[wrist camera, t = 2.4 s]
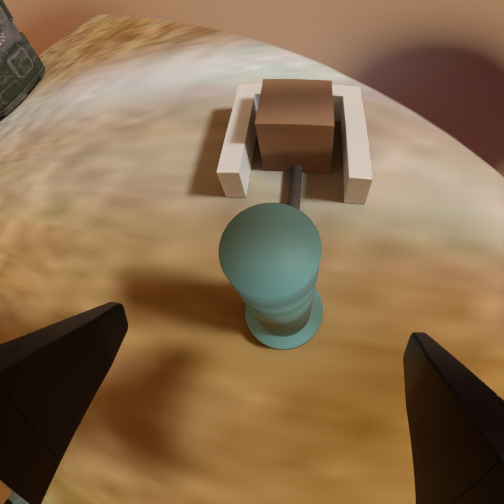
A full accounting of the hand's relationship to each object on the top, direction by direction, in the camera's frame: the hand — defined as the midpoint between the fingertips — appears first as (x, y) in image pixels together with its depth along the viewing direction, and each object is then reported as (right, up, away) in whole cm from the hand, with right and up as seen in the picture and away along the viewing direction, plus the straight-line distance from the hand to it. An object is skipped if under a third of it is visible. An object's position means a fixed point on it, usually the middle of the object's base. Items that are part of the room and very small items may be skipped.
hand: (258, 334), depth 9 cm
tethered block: (+3, +5, +12) cm, 14 cm away
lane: (+4, +11, +15) cm, 19 cm away
